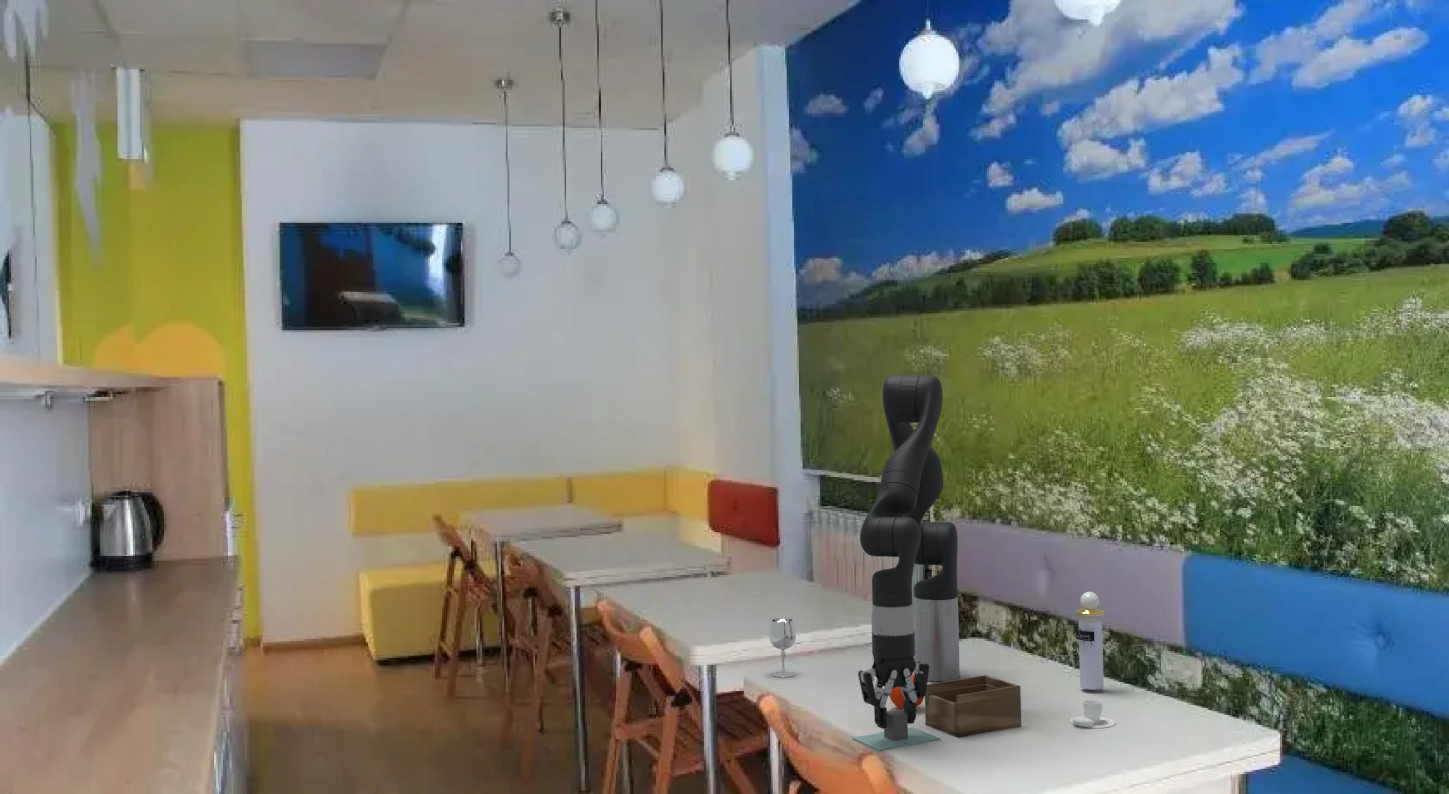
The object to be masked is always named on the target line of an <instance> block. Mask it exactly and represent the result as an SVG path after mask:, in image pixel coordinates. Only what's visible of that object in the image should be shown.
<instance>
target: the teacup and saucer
mask: <svg viewBox="0 0 1449 794" xmlns="http://www.w3.org/2000/svg"><path fill="white" fill-rule="evenodd" d="M1082 705H1083V715H1080V716H1075V717H1072V718H1071V719H1070V723H1071V724H1072V725H1075V726H1076V727H1077V726H1079V727H1081V728H1088V729H1089V728H1090V729H1104V728H1110V727H1113V726H1115V725H1116V724H1117V723H1116V721H1115V720H1114V719H1112V718H1110V717H1105V716H1101V714H1102V712H1103V703H1102V702H1101V701H1099V700H1097V699H1096V700H1094V699H1087V700H1083V701H1082ZM1100 720H1102V721H1106V722H1107V724H1105V725H1100V726H1099V725H1098V726H1096V725H1095V724H1099V722H1100ZM1094 725H1095V726H1094Z"/></svg>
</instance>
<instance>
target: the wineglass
mask: <svg viewBox="0 0 1449 794" xmlns="http://www.w3.org/2000/svg"><path fill="white" fill-rule="evenodd" d="M768 634H769V642H770V644H771V645H772V647H774V648H776V649H778V650H781V651H780V657H781V664H782V666H781V670H780V671H778V672H775V673H773V677H775V678H776V677H777V678H790V677H793V676H794V673H793V672H790V671H787V670H786V668H785V658H786V651H785V650H787V649H789V648H791V647H793V646H794V645H795V642H796V634H797V633H796V628H795V624H794V619H792V618H785V617H783V618H779V617H778V618H774V619H771V621H770V626H769V633H768Z"/></svg>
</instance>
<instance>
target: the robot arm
mask: <svg viewBox="0 0 1449 794" xmlns="http://www.w3.org/2000/svg"><path fill="white" fill-rule="evenodd" d="M943 397H944V396H943V386H942V383H941V380H940V379H939V378H938V377H937V376H935V375H928V374H927V375H926V374H904V373H903V374H892V375H890V376H888V377H886V379H885V380H884V383H883V386H882V406H883V410H884V416H885V420H886V425H887V428H888V431H889V435H890V438H891V444H892V448H893V452H892V454H891V455H890V457H889V458H888V459H887V461H886V462H885V465H884V467H883V469H882V474H881V479H880V483H879V489H878V490H879V491H878V494H877V497H876V499H875V501H874V503H873V505H872V507H871V509H870V510H869V512H868V514H867V515H866V517H865V519H864V521H863V523H862V525H861V529H860V533H859V542H860V546H861V548H862V550H863V551H864V553H865V554H867V555H869V556H871V557H880V558H881V557H882V558H883V557H888V558H890V557H891V558H898V561H897V562H898V563H897V564H896V565H895V567H891V568H885V569H881V570H878V571H875V572H874V573H873V575H872V577H871V594H872V595H871V596H872V598H871V599H872V607H871V609H872V610H871V617H870V618H871V651H872V657H873V663H872V667H871V668H869V669H866V670H859V671H858V672H857V676H858V680H859V684H860V690H861V694H862V698H863V702H864V703H865V704H869V705H870V706H873V708H874V709H873V710H874V711H873V712H874V723H875V725H876V726H877V728H880V729H883V730H884V729H885V728H887V711H888V710H887V707H886V704H887V702H888V698H889V697H890V696H889V695H890V694H891V690H892V688H896V687H899V688H900V689H901V691H902V694H903V696H904V699H905V700H906V701H904V709H903V712H905V713H907V720H908V724H909V725H911V724H914V723H915V720H916V719H917V707H916V701H917V700H918V699H919V698H921V697H922V698H923V697H924V698H925V694H926V687H927V684H928V682H929V681H930V682H945V681H951V680H958V679H960V677H961V675H960V635H959V634H960V629H959V628H960V627H959V595H958V594H959V593H958V550H959V549H958V545H959V543H958V542H959V539H958V531H957V528H956V527H957V526H955V524H954V523H953V522H950V521H922V520H923V518H924V516H925V515H926V514H927V512H928V511H929V510H930V509H931V508H932V507H933V506H934V504H935V502H937V500H938V499H939V498H940V496H941V494H942V492H943V490H944V476H943V468H942V461H941V458H940V456H939V454H938V453H937V451H936V450H935V449H934V448H933V447H932V446H931V445H932V441H933V440H934V439H933V438H934V437H935V433H936V430H937V427H938V423H939V421H940V417H941V413H942V408H943V399H944V398H943ZM913 423H915V424H917V426H916V427H915V428H914V427H913V425H912V424H913ZM915 565H919V566H941V570H940V571H939V572H938V573H937V574H935V575H934V576H931V577H929V578H926V579H922V580H919V581H918V582H916V583H915V584H914V587H913V575H914V569H915ZM913 599H914V600H913ZM913 602H914V607H913ZM913 609H914V610H913ZM912 674H913V675H915V676H914V682H913V681H912V679H911V675H912ZM875 678H876V681H875ZM874 682H875V685H874ZM883 687H884V688H883ZM924 698H923V699H924Z"/></svg>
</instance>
